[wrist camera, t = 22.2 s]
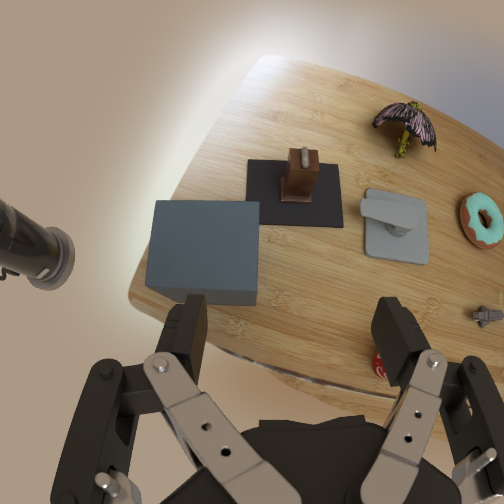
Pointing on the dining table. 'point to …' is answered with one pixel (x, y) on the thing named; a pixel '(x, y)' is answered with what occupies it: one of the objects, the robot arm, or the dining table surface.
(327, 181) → the mat
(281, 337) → the dining table surface
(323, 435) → the robot arm
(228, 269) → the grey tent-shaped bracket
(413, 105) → the decorative flower
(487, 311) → the grey toy spaceship
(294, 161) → the coat peg
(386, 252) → the shower valve
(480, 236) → the donut
